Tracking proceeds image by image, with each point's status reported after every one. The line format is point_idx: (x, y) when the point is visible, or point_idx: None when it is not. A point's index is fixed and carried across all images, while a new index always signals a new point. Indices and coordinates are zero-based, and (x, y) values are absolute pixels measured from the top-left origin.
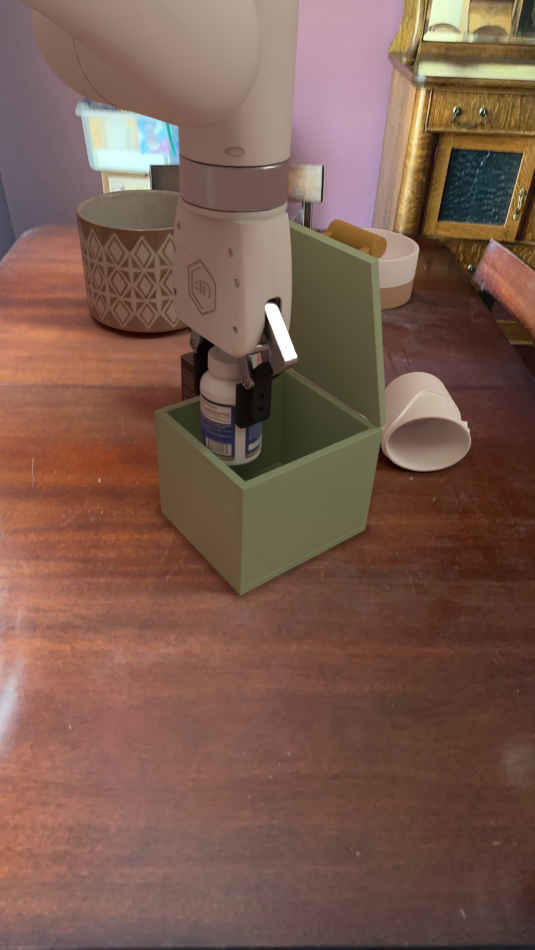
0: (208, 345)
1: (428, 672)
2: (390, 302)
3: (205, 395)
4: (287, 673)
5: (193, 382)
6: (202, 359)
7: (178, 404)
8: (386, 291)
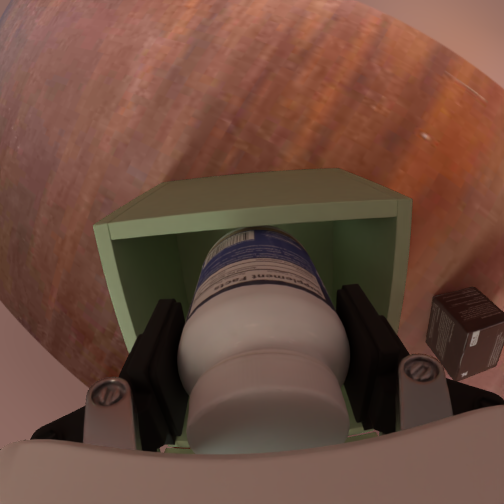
0: (382, 402)
1: (38, 281)
2: None
3: (257, 287)
4: (66, 179)
5: (479, 312)
6: (368, 357)
7: (403, 251)
8: None
